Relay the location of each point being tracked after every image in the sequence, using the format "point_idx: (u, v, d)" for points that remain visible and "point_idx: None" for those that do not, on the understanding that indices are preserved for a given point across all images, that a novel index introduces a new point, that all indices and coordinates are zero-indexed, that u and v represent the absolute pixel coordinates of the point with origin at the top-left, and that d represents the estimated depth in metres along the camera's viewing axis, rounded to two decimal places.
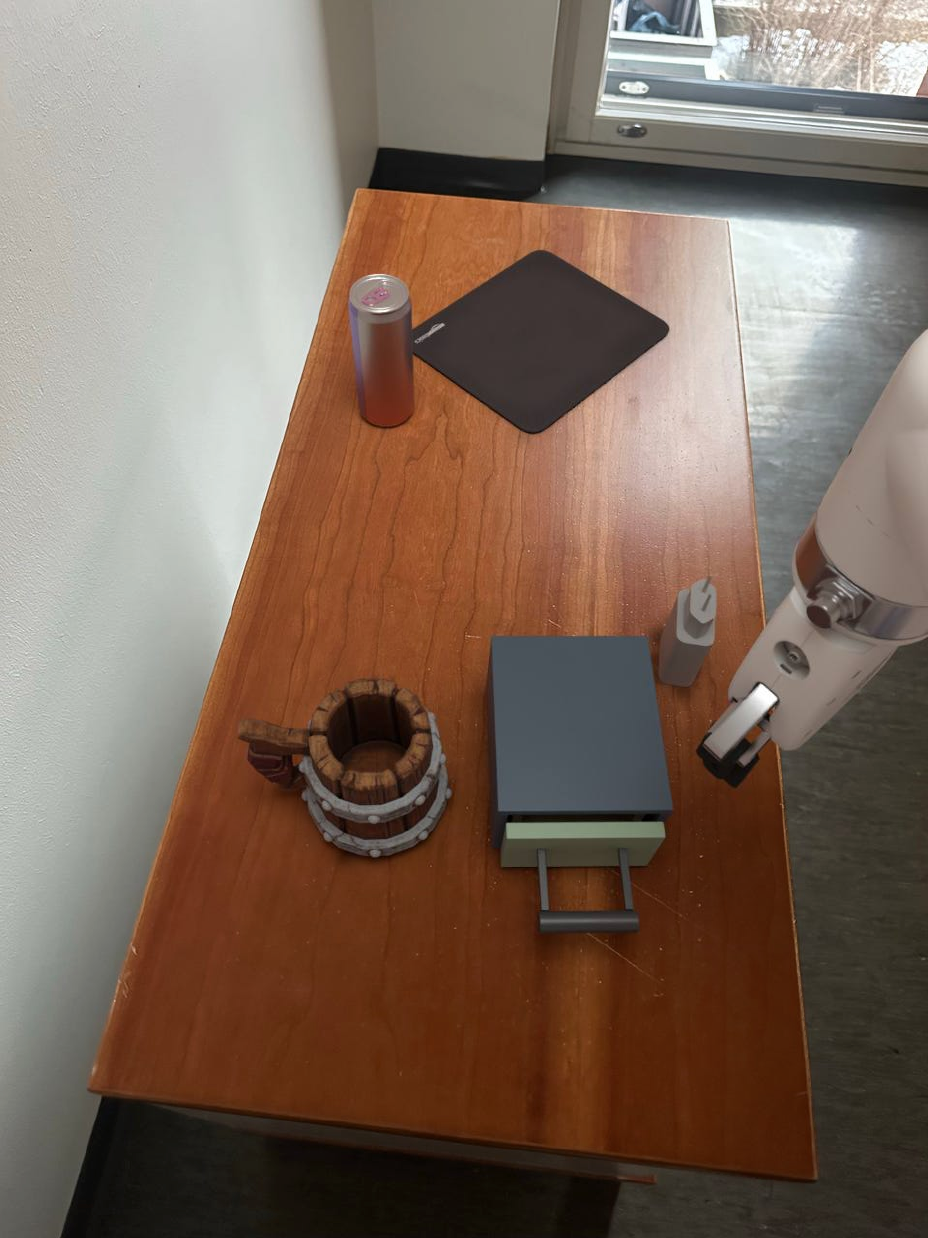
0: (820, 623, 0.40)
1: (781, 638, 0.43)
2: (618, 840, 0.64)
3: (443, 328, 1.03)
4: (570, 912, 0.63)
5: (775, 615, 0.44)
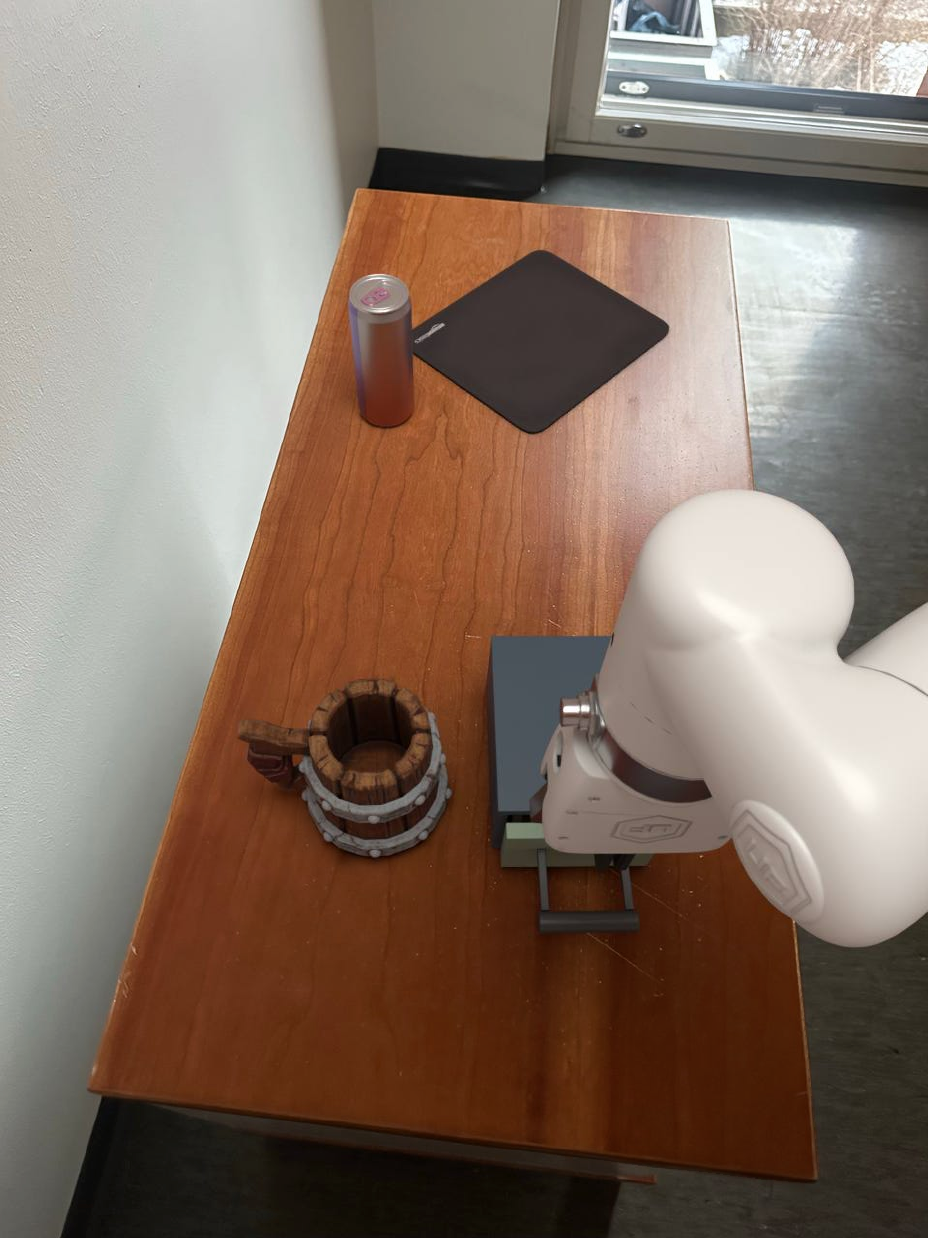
0: (560, 720, 0.40)
1: (562, 728, 0.43)
2: None
3: (443, 328, 1.03)
4: (570, 912, 0.63)
5: None
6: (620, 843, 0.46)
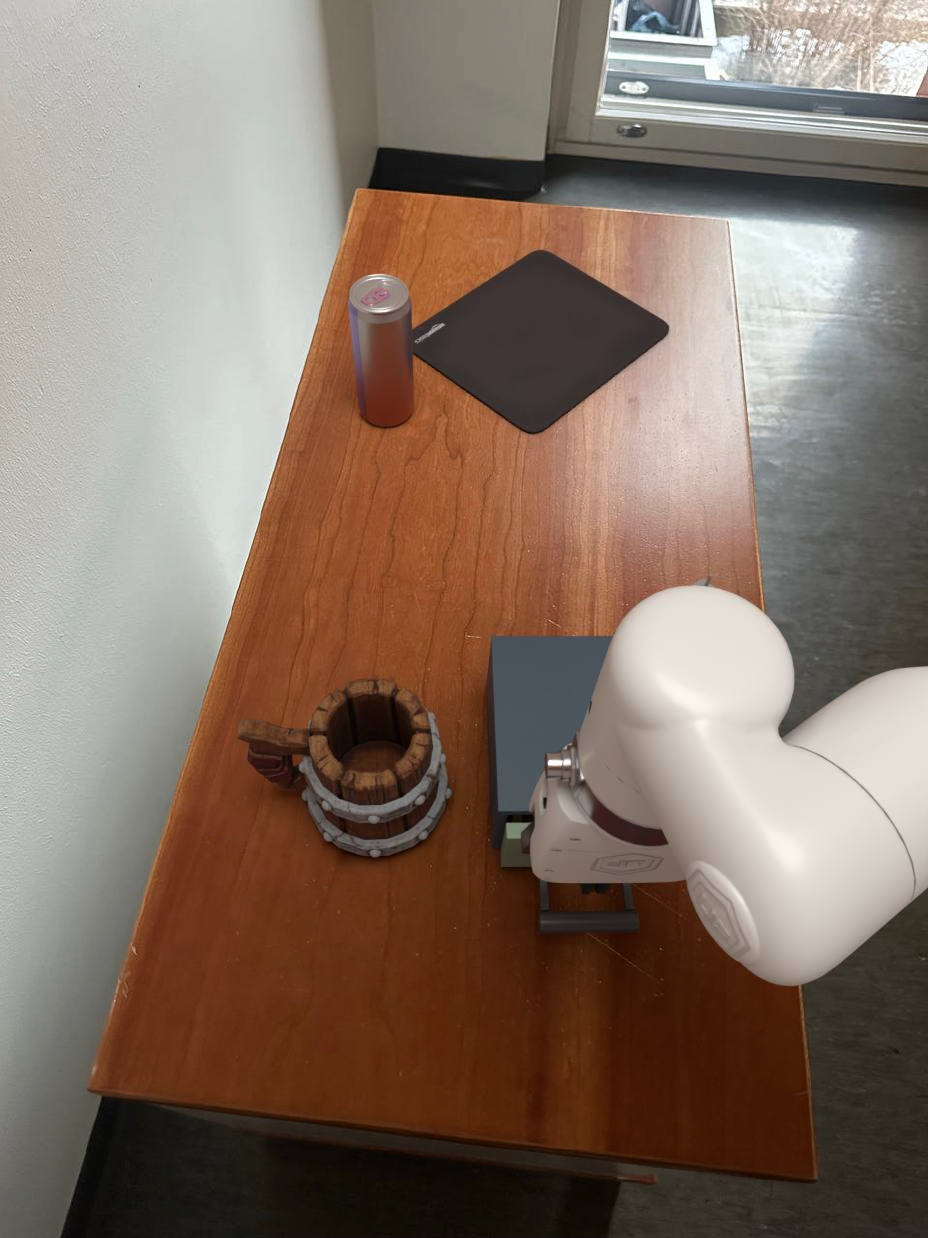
0: (545, 771, 0.45)
1: None
2: None
3: (443, 328, 1.03)
4: (570, 912, 0.63)
5: None
6: (600, 875, 0.52)
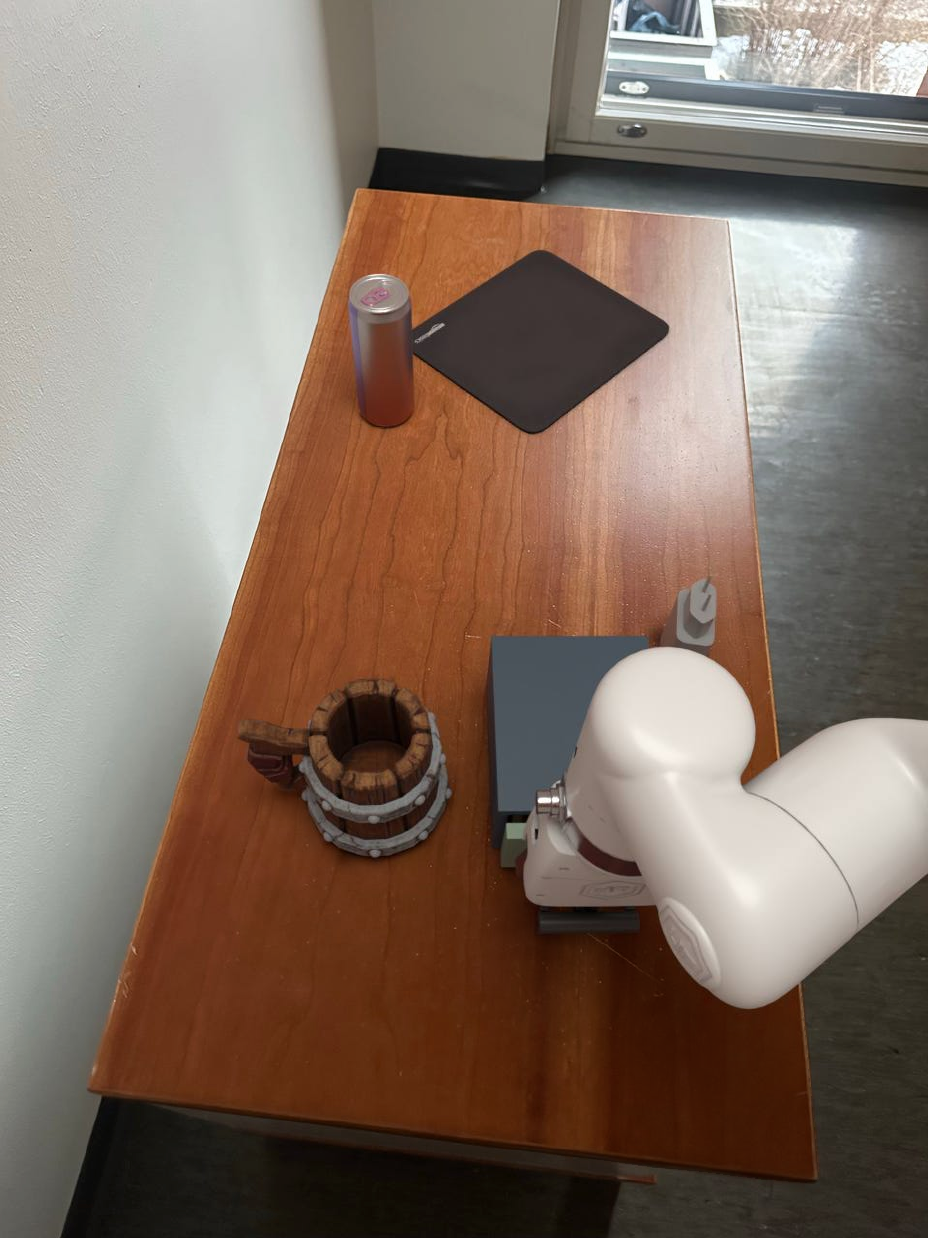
0: (536, 808, 0.49)
1: None
2: None
3: (443, 328, 1.03)
4: (570, 912, 0.63)
5: None
6: (588, 899, 0.56)
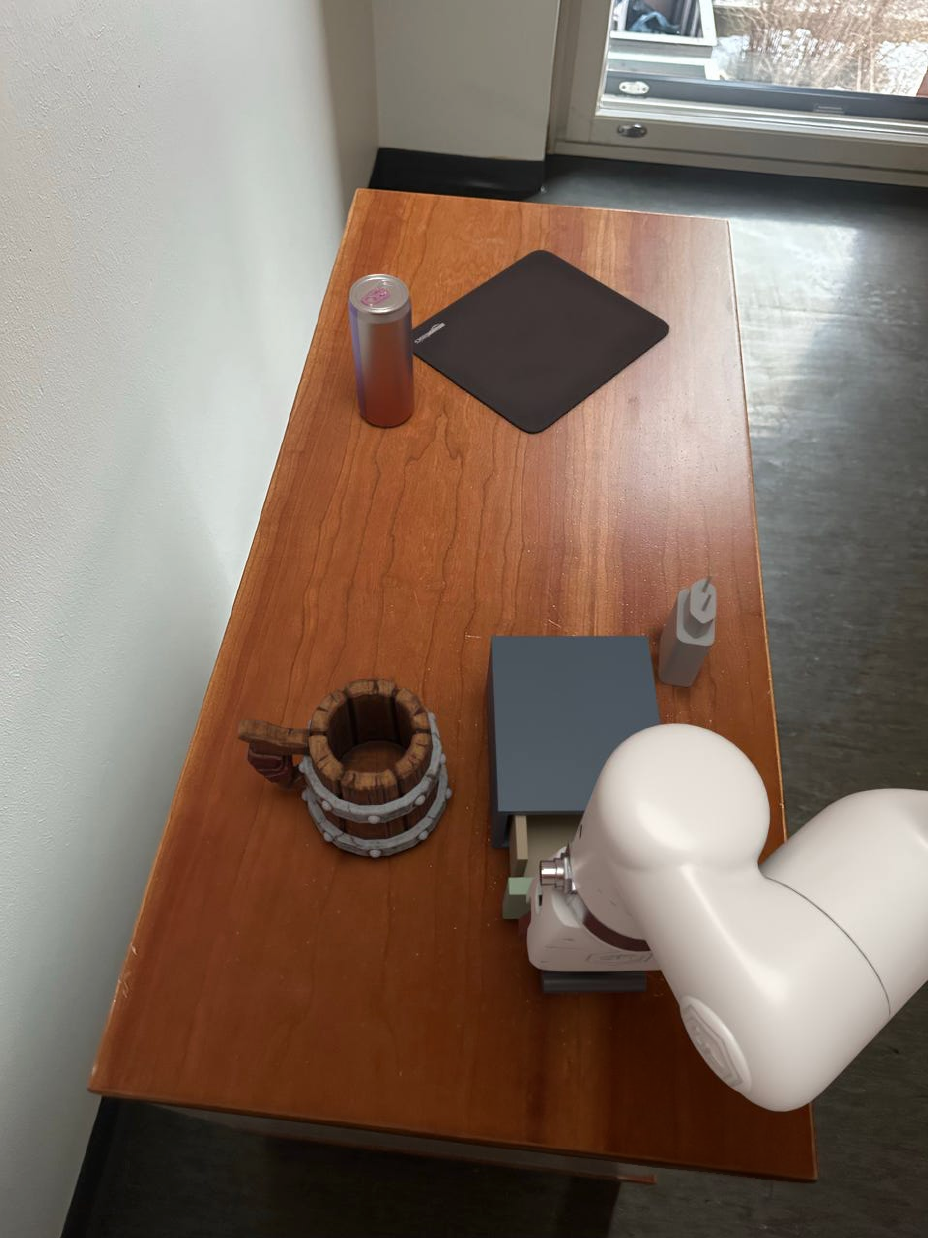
0: (540, 879, 0.48)
1: None
2: None
3: (443, 328, 1.03)
4: (575, 971, 0.61)
5: (551, 856, 0.51)
6: (593, 965, 0.54)
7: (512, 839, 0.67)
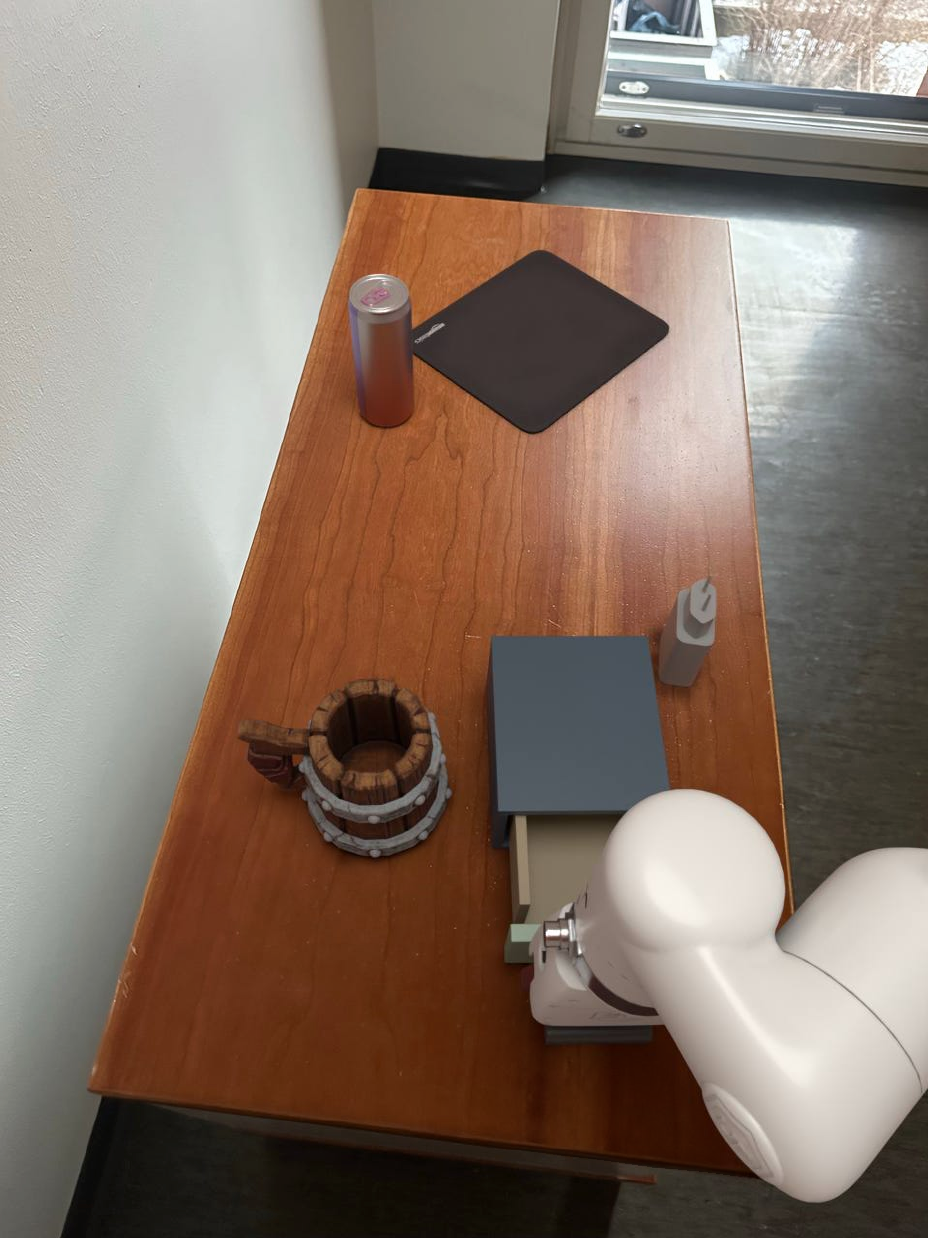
0: (544, 940, 0.46)
1: None
2: None
3: (443, 328, 1.03)
4: None
5: (555, 912, 0.50)
6: (598, 1022, 0.52)
7: (514, 881, 0.65)
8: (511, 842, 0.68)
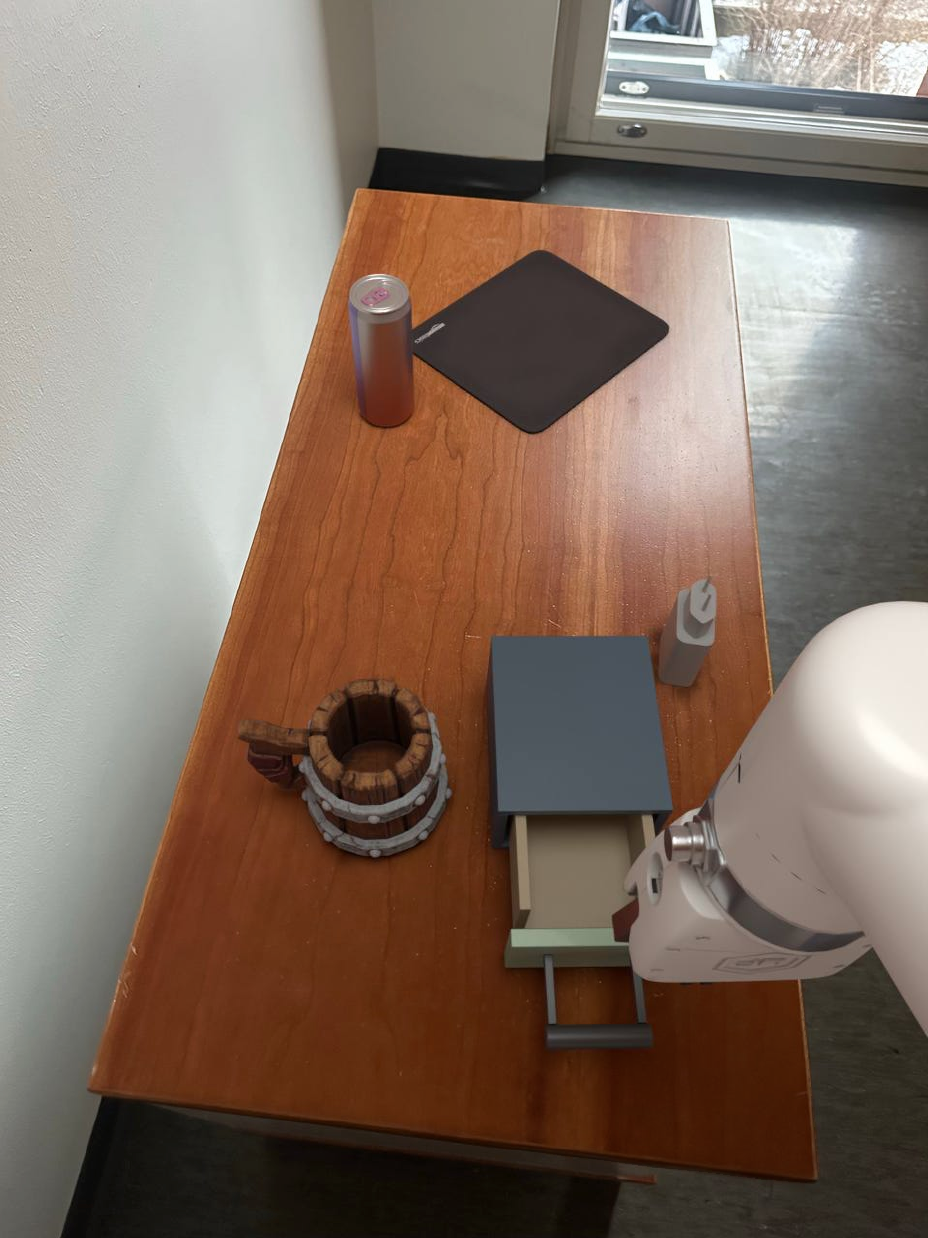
0: (667, 852, 0.34)
1: (659, 850, 0.37)
2: None
3: (443, 328, 1.03)
4: (579, 1027, 0.59)
5: (670, 825, 0.38)
6: (722, 974, 0.40)
7: (514, 886, 0.65)
8: (511, 846, 0.67)
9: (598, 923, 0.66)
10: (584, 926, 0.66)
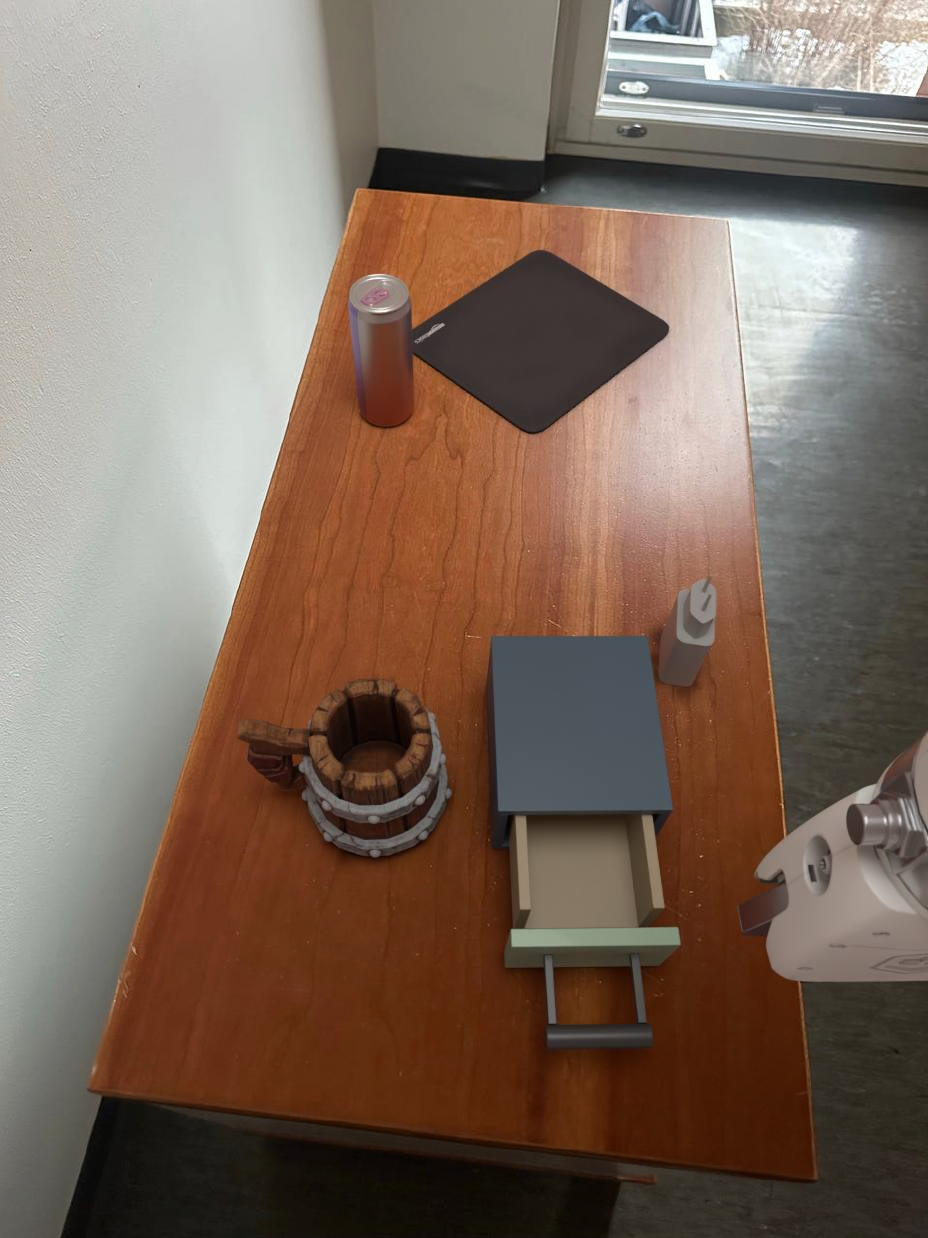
0: (853, 834, 0.29)
1: (822, 833, 0.33)
2: (630, 948, 0.60)
3: (443, 328, 1.03)
4: (579, 1027, 0.59)
5: (834, 804, 0.33)
6: (876, 974, 0.36)
7: (514, 886, 0.65)
8: (511, 846, 0.67)
9: (598, 923, 0.66)
10: (584, 926, 0.66)
